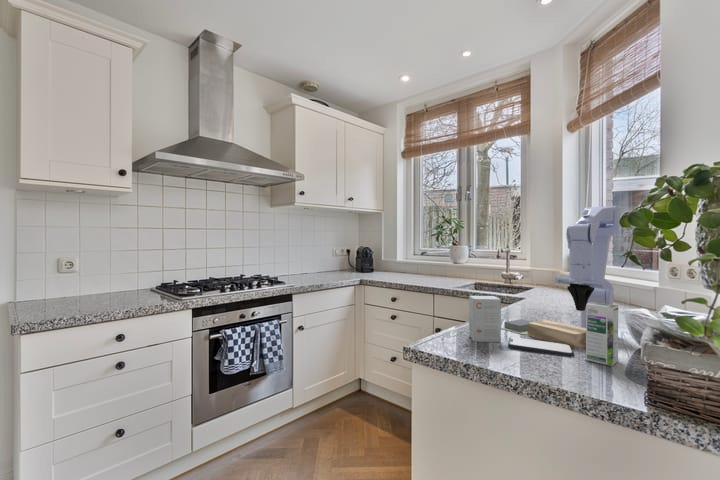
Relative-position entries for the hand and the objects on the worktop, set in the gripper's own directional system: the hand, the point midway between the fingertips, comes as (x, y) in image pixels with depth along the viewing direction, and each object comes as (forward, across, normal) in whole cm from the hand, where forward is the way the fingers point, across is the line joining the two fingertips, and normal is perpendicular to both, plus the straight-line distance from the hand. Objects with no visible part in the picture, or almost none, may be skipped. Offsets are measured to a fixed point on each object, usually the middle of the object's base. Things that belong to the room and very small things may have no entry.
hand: (580, 310), depth 100 cm
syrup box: (+10, +11, -10) cm, 18 cm away
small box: (+10, -16, -22) cm, 29 cm away
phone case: (+10, -3, -15) cm, 18 cm away
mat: (+10, -18, -1) cm, 21 cm away
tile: (+8, -19, -1) cm, 21 cm away
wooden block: (+10, -6, -1) cm, 11 cm away
